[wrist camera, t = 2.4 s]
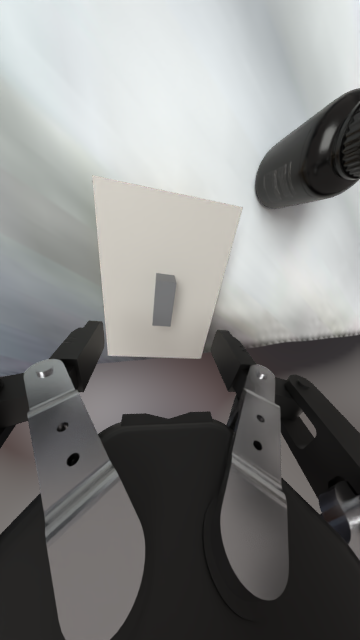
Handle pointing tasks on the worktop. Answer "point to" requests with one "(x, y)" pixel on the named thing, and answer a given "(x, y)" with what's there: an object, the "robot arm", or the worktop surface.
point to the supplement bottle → (314, 157)
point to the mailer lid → (160, 267)
